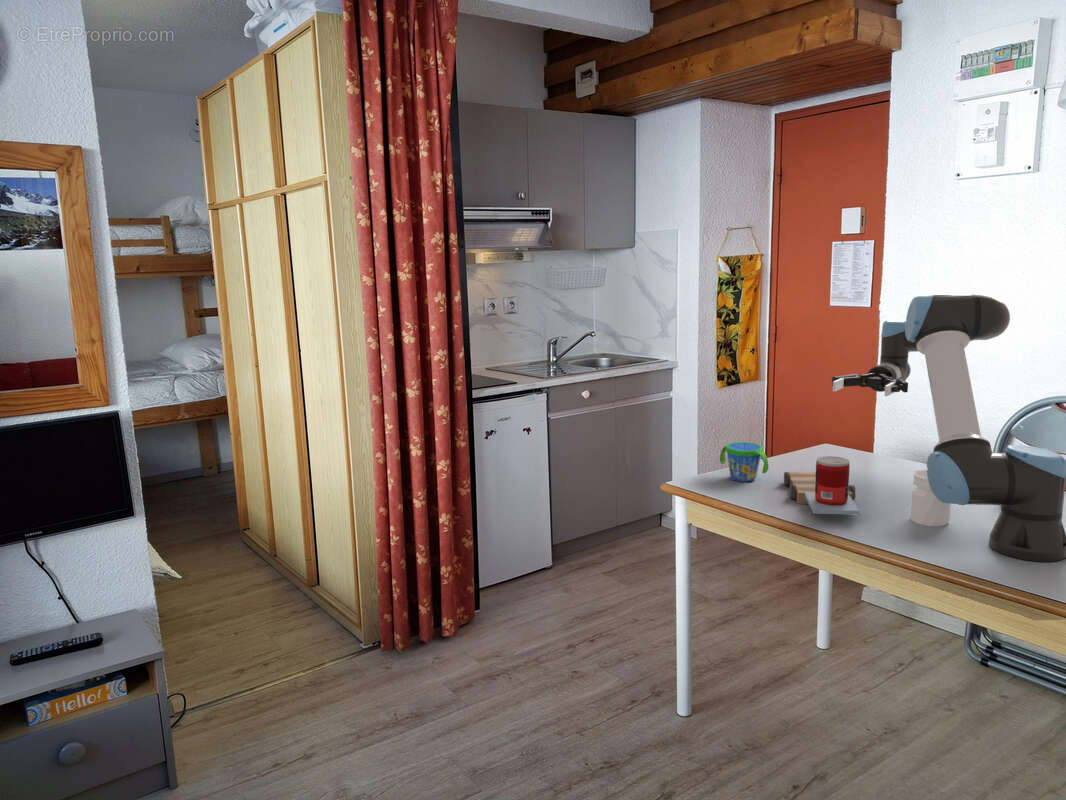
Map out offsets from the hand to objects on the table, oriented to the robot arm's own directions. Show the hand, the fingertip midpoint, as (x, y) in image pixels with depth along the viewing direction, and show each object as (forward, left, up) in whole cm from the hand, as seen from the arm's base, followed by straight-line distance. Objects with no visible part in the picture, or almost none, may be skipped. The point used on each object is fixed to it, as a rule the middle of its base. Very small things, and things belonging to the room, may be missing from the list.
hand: (859, 388), depth 212 cm
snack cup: (+19, +26, -30) cm, 44 cm away
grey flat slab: (-7, +11, -27) cm, 30 cm away
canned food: (-14, +12, -27) cm, 33 cm away
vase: (-21, -10, -30) cm, 38 cm away
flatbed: (+4, +9, -30) cm, 31 cm away
